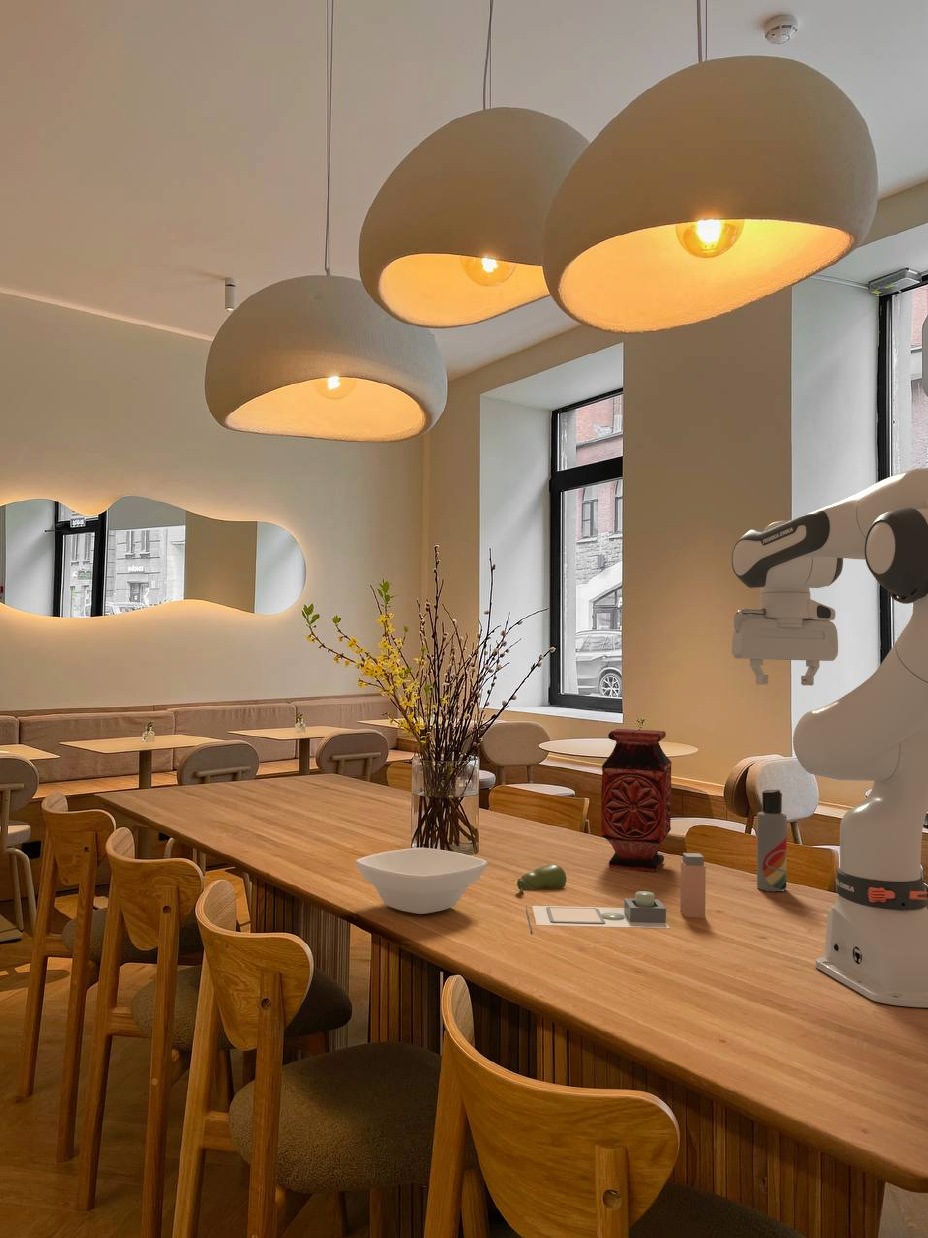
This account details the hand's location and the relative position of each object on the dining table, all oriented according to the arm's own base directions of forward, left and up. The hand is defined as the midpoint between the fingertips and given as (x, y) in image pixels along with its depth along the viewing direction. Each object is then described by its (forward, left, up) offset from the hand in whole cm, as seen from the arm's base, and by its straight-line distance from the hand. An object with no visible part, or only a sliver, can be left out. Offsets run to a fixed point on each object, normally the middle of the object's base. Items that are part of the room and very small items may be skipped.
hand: (784, 685), depth 167 cm
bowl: (-1, +66, -42) cm, 78 cm away
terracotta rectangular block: (-5, +18, -42) cm, 46 cm away
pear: (+13, +43, -42) cm, 61 cm away
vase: (+39, +20, -42) cm, 60 cm away
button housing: (-8, +27, -40) cm, 49 cm away
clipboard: (-8, +35, -42) cm, 55 cm away
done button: (-8, +27, -39) cm, 48 cm away
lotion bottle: (+20, -4, -42) cm, 46 cm away
